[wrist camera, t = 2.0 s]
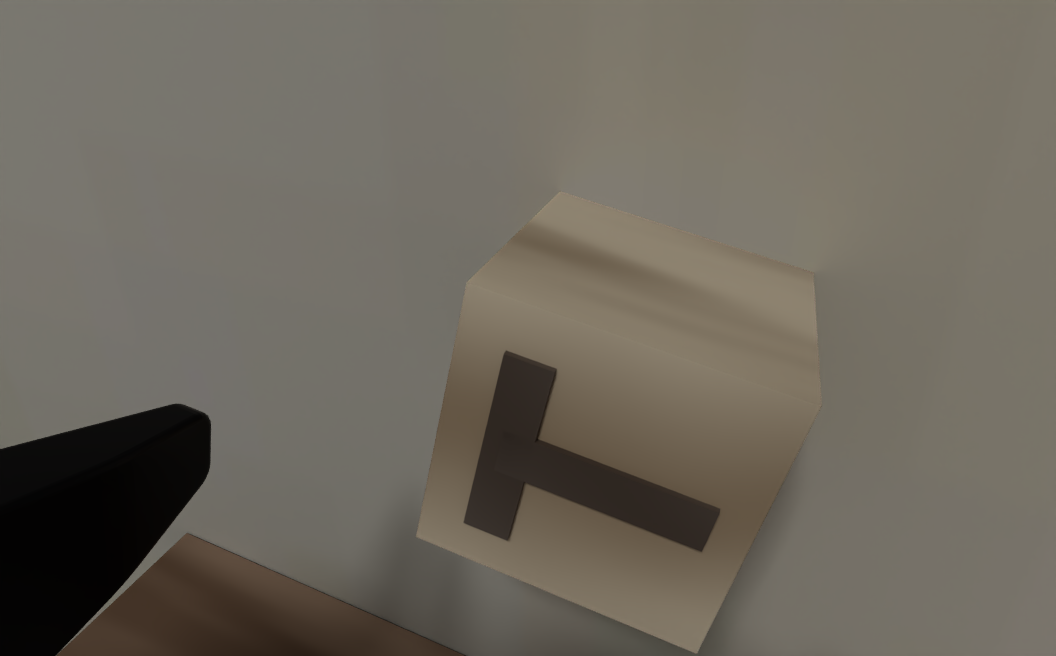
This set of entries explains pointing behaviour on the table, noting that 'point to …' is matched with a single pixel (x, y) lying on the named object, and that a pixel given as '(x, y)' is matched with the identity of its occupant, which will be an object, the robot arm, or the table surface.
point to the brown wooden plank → (236, 615)
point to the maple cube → (622, 414)
